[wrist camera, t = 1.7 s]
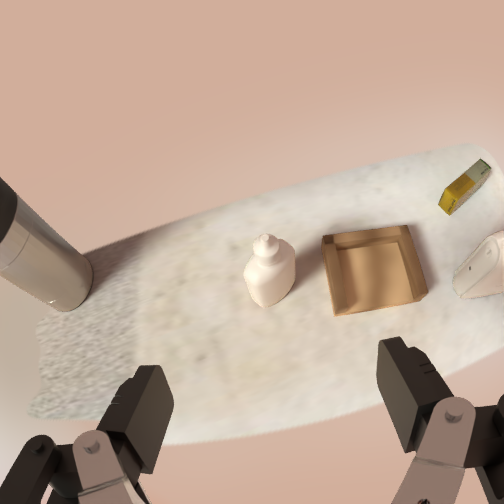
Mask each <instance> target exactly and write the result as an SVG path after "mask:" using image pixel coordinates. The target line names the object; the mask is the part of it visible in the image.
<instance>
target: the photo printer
mask: <svg viewBox="0 0 504 504" xmlns="http://www.w3.org/2000/svg"><path fill="white" fill-rule="evenodd" d="M453 286H454V290H455V292H456V293H457V295H459V296H460V298H475V297H482V296H488V295H493V294H497V293H501V292H504V230H502V231H500V232H496V233H494V234H492V235H490V236H488V237H487V238H486V239H485V240H484V241H483V242H482V243H481V244H480V246H479V247H478V248H477V249H476V250H475V251H474V252H473V253H472V254H471V256H470V257H469V258H468V259H467V260H466V261H465V262H464V263H463V264H462V265H461V266H460V267H459V268H458V269H457V270H456V272H455V277H454V279H453Z"/></svg>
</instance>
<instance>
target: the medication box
mask: <svg viewBox="0 0 504 504" xmlns="http://www.w3.org/2000/svg"><path fill="white" fill-rule="evenodd" d="M490 170H491V167H490V166H489V165H488V164H487V163H486V162H484V161H483V160H482V159H479V160H478V161H477V162H476V163H475V164H474V165H472V166H471V167H470V168H469V169H468V170H467V171H466V172H464V173H463V174H462V175H461V176H460V177H459V178H457V179H456V180H455V181H454V182H453V183H451V184H450V185H449V186H448V187H447V188H445V190H444V192H443V194H442V196H441V199H440V201H439V204H438V205H439V206H440V207H441V208H442V209H443V210H444V211H445V212H446V213H447V214H448V215H449V216H450V215H451V214H452V213H453V212H454V211H456V210H457V209H458V208H459V207H460V206H461V205H462V204H463V203H464V202H465V201H466V200H467V199H468V198H470V197H471V196H472V195H473V194H474V193H475V192H476V191H477V190H478V189H479V188H480V187H481V186H482V185H483V184H484V182H485V180H486V178H487V176H488V174H489V172H490Z"/></svg>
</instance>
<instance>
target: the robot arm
mask: <svg viewBox="0 0 504 504" xmlns="http://www.w3.org/2000/svg"><path fill="white" fill-rule="evenodd" d="M0 276H2V277H3V278H5V279H6V280H8V281H9V282H11V283H13V284H14V285H16V286H17V287H19V288H20V289H22V290H24V291H26V292H27V293H29V294H30V295H32V296H34V297H35V298H37V299H39V300H41V301H42V302H44V303H46V304H48V305H49V306H51V307H53V308H55V309H56V310H58V311H62V312H67V311H70V310H73V309H75V308H76V307H78V306H79V305H80V304H81V303H82V302H83V301H84V299H85V298H86V296H87V294H88V293H89V290H90V288H91V284H92V278H93V273H92V267H91V265H90V263H89V261H88V260H87V259H86V258H85V257H84V256H82V255H81V254H80V253H79V252H78V251H77V250H76V249H74V248H73V247H72V246H71V245H70V244H69V243H68V242H67V241H65V239H63V238H62V237H61V236H60V235H59V234H58V233H57V232H56V231H55V230H54V229H53V228H51V227H50V226H49V225H48V224H47V223H46V222H45V221H44V220H43V219H42V218H41V217H40V216H39V215H38V214H37V213H36V212H35V211H34V210H33V209H32V208H30V206H28V205H27V204H26V203H25V202H24V201H23V200H22V199H21V198H20V197H19V196H18V195H17V193H16V192H14V190H12V188H11V187H10V186H8V184H7V183H5V182H4V181H3V180H2V179H1V177H0ZM376 376H377V384H378V388H379V391H380V393H381V395H382V398H383V400H384V402H385V405H386V407H387V409H388V412H389V414H390V417H391V419H392V422H393V424H394V427H395V429H396V431H397V434H398V437H399V439H400V442H401V444H402V447H403V449H404V452H405V453H408V452H411V451H416V456H415V458H414V459H413V461H412V463H411V465H410V467H409V469H408V471H407V474H406V476H405V478H404V480H403V482H402V484H401V486H400V488H399V490H398V492H397V494H396V495H395V497H394V499H393V501H392V503H391V504H454V503H455V500H456V497H457V494H458V492H459V489H460V486H461V482H462V479H463V476H464V472H465V469H466V468H474V467H475V470H476V472H477V475H478V477H479V479H480V482H481V484H482V487H483V489H484V492H485V495H486V497H487V500H488V502H489V504H504V394H503V395H502V396H501V397H500V399H499V402H498V404H497V405H492V406H484V407H474V406H473V405H472V404H471V403H470V402H469V401H468V400H466V399H464V398H460V397H454V395H453V394H452V392H451V391H450V389H449V388H448V386H447V385H446V383H445V382H444V380H443V379H442V377H441V376H440V374H439V373H438V371H436V368H435V367H434V365H433V364H431V361H430V360H429V358H428V357H427V355H426V354H425V353H424V352H422V351H421V350H419V349H417V348H416V347H410V348H408V347H407V346H406V344H405V343H404V341H403V340H402V338H401V337H399V336H398V337H394V338H389V339H384V340H380V341H379V345H378V360H377V373H376ZM173 408H174V400H173V395H172V393H171V390H170V388H169V385H168V383H167V380H166V377H165V375H164V372H163V370H162V368H161V366H159V365H141V366H139V368H138V369H137V371H136V373H135V375H134V377H133V378H129V379H128V380H126V381H125V382H124V383H123V384H122V385H121V386H120V387H119V389H118V391H117V392H116V394H115V397H114V398H113V399H112V401H111V405H109V407H108V408H107V410H106V412H105V414H104V416H103V417H102V419H101V421H100V423H99V425H98V427H97V429H96V430H92V431H87V432H85V433H83V434H81V435H80V436H79V437H78V438H77V439H76V440H75V442H74V444H67V445H56V444H55V443H54V441H53V440H52V439H51V438H50V437H49V436H47V435H38V436H35V437H33V438H31V439H30V440H29V441H27V442H26V444H25V446H24V447H23V449H22V450H21V452H20V454H19V455H18V457H17V459H16V461H15V462H14V464H13V466H12V467H11V469H10V471H9V473H8V474H7V476H6V478H5V480H4V482H3V484H2V485H1V487H0V504H41V499H42V497H43V494H44V492H45V490H46V488H47V486H48V484H49V485H50V486H51V487H52V488H53V490H52V492H51V495H50V497H49V499H48V501H47V504H152V503H151V501H150V499H149V498H148V496H147V494H146V492H145V490H144V488H143V486H142V484H141V482H140V481H139V480H138V479H139V476H140V473H146V474H152V473H153V470H154V467H155V464H156V460H157V457H158V454H159V451H160V448H161V445H162V442H163V439H164V436H165V433H166V430H167V427H168V424H169V421H170V418H171V415H172V412H173Z"/></svg>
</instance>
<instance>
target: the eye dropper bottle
mask: <svg viewBox="0 0 504 504" xmlns="http://www.w3.org/2000/svg"><path fill="white" fill-rule="evenodd" d="M253 251H254V254H253V255H252V256H251V258H250V259H249V261H248V263H247V265H246V267H245V270H244V278H245V281H246V284H247V286H248V289H249V291H250V294H251V297H252V299H253V300H254V301H255V302H256V303H257V304H258V305H259V306H260V307H262V308H266V307H269V306H271V305H274V304H275V303H277V302H278V301H280V300H281V299H282V298H283V297H284V296H285V295H286V294H287V293H288V292H289V290H290V289H291V287H292V285H293V283H294V281H295V251H294V249H293V247H292V246H291V245H290V244H289V243H287V242H286V241H285V240H283V239H277V238H276V237H275V236H273V235H270V234H263V235H261V236H259V237H258V238H257V239H256V240H255V241H254V243H253Z"/></svg>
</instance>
